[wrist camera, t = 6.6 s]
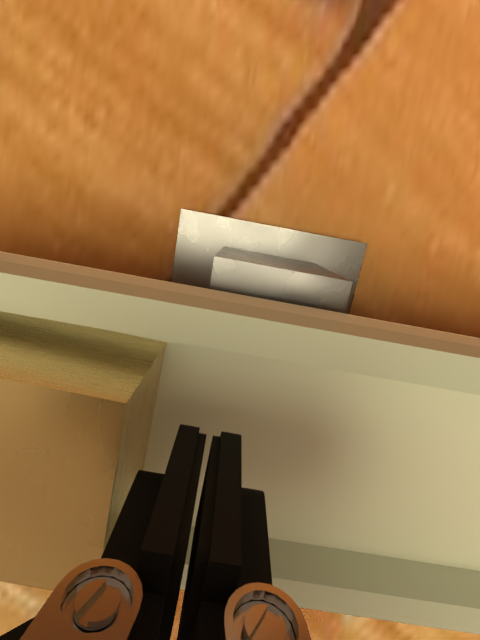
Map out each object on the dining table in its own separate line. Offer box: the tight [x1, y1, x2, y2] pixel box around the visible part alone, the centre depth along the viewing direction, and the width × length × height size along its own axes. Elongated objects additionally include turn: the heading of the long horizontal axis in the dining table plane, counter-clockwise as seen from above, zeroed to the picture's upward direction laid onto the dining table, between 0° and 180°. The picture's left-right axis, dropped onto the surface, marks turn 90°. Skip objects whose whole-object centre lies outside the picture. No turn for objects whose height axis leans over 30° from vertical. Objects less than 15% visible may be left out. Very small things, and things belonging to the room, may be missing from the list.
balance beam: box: [0, 251, 480, 634], centre depth 13 cm, size 32×9×8 cm, turn 80°
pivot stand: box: [171, 209, 367, 314], centre depth 18 cm, size 10×14×8 cm
